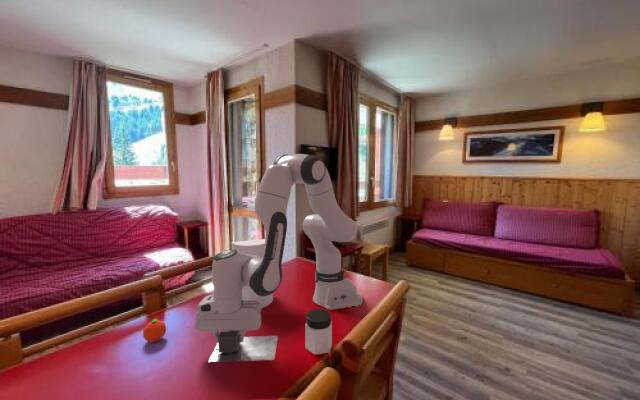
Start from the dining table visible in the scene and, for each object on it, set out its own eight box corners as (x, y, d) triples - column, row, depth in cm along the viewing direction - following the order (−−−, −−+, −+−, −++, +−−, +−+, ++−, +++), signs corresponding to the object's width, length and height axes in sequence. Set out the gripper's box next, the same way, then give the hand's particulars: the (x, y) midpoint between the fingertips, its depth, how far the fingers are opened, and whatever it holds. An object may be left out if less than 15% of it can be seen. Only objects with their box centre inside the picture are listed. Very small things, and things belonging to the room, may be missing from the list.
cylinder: (276, 305, 119) (275, 243, 116) (235, 313, 113) (233, 247, 109) (269, 289, 135) (267, 234, 132) (232, 295, 128) (230, 237, 125)
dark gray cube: (241, 340, 92) (240, 324, 91) (236, 351, 86) (236, 335, 85) (224, 341, 91) (223, 325, 91) (218, 352, 86) (218, 335, 85)
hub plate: (278, 338, 96) (278, 327, 95) (274, 363, 84) (273, 350, 83) (220, 340, 95) (219, 328, 94) (208, 365, 83) (207, 352, 82)
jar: (307, 359, 85) (307, 323, 84) (303, 343, 93) (303, 310, 92) (335, 355, 87) (335, 320, 86) (328, 339, 95) (328, 307, 94)
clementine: (146, 335, 98) (144, 316, 97) (168, 330, 100) (167, 312, 100) (141, 348, 90) (140, 328, 90) (165, 343, 93) (164, 324, 92)
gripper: (262, 295, 90) (263, 334, 92) (199, 297, 89) (202, 336, 91) (259, 305, 84) (260, 346, 86) (191, 307, 83) (194, 348, 85)
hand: (230, 341), depth 89 cm, fingers closed on dark gray cube, 5 cm apart
